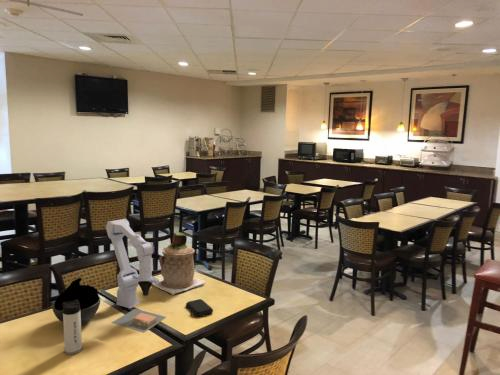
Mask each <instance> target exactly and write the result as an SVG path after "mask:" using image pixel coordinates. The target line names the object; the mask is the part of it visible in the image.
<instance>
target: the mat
mask: <svg viewBox="0 0 500 375" xmlns="http://www.w3.org/2000/svg"><path fill="white" fill-rule="evenodd" d="M140 313H144V314H148V315H151V316H155V317H157V322H156V323H154V324H153V325H152V326H150V327H149V328H147V327H143V326H140V325H136V324H133V323H132V318H133V317H135V316H137V315H138V314H140ZM166 318H167V316H164V315H162V314H161V315H160V314H156V313H153V312H150V311H145V310H142V309H139V308H134V309H132V310H131V311H129V312H127V313H125V314H123V315H121V317H119V318H117V319H115V320H114V321H112V322H111V324H114V325H117V326H120V327H124V328H128V329H130V330H135V331H138V332H141V333H144V334H145V333H146V332H147V331H149V330H150V329H152V328H153V327H155V326H156V325H157V324H159V323H160V322H162V321H163V320H165V319H166Z"/></svg>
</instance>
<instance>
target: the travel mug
mask: <svg viewBox="0 0 500 375" xmlns="http://www.w3.org/2000/svg"><path fill="white" fill-rule="evenodd" d="M62 306H63V322H62V323H63V344H64V353H65V354H66V355H68V356H69V355H70V356H71V355H72V356H73V355H76V354H78V353H80V352H81V351H82V349H83V344H82V343H83V342H82V341H83V340H82V339H83V338H82V324H81V312H80V303H79V302H76V301H69V302H64V303H63V304H62Z"/></svg>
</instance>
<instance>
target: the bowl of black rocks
mask: <svg viewBox="0 0 500 375" xmlns="http://www.w3.org/2000/svg"><path fill="white" fill-rule="evenodd" d="M82 279H83V278H82V277H78V278H76V279H75V280H72V281H71V283H70V284H69V285H68V286H67V287H66V289H65V290H64V291H63V292H61V293H60V294H59V296H58V297H57V298H56V300H55V301H53V303H52V305H51V309H52V312H53V315H54V316H55V318H56V319H58V320H59V322H61V323H63V306H62V304H63V303H64V302H69V301H76V302H79V303H80V312H81V325H82V324H84V323H86V322H88V321H90V320H91V319H92V318H93V317H94V316H95V315H96V313H97V312H98V310H99V307H100V304H101V297H100V296H99V293H98V289H97V288H96V287H95V286H91V285H89V284H87V285H86V284H81V283H80V282H81V281H82Z"/></svg>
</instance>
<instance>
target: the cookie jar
mask: <svg viewBox="0 0 500 375" xmlns="http://www.w3.org/2000/svg"><path fill="white" fill-rule="evenodd" d="M187 238H188V236H187V234H185V233H182V232H180V231H178V230H177V231H173V238H172V242H171V243H170V244H168V245H167V246H164V247H163V250H162V256H160V257H159V258H158V262H159V266H160V267H161V268H160V274H161V277H158V278H157V279H159V283H158V284H155V283H152V286H154V287H156V288H158V289H160V290H162V291H164V292H167V293H169V294H171V295H172V296H175V295H176V294H179V293H182V292H186V291H189V290H191V289H194V288H197V287H202V286H205V285H204V284H206V281H205V280H203V279H200V278H197V277H196V276H195V271H196V270H195V260H194V254H195V252H196V249H194V248H193V247H191V246H188V245H187V241H188V239H187ZM194 276H195V277H194ZM201 285H202V286H201Z"/></svg>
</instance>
